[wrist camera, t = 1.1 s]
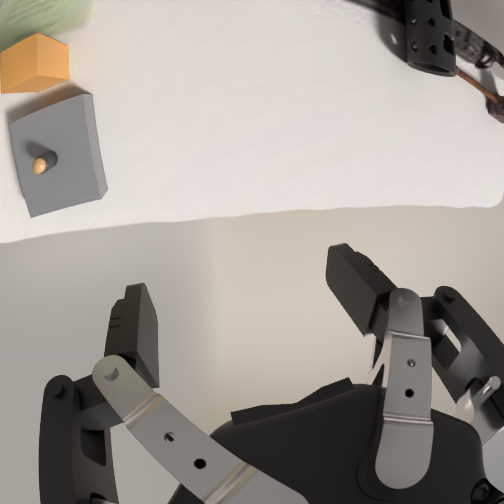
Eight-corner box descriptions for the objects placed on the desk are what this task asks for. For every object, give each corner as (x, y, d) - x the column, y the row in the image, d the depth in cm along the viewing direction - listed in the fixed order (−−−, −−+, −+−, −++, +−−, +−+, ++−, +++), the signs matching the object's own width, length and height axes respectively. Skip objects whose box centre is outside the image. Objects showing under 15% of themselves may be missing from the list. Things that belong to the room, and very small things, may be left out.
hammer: (502, 124, 44) (527, 132, 35) (422, 76, 41) (451, 75, 32) (504, 103, 41) (529, 109, 32) (423, 50, 37) (452, 46, 29)
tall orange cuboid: (36, 59, 21) (0, 52, 13) (68, 45, 22) (37, 32, 14) (37, 92, 24) (1, 93, 16) (69, 79, 25) (37, 74, 17)
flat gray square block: (22, 120, 25) (-7, 127, 18) (92, 94, 27) (71, 93, 21) (41, 207, 32) (18, 230, 26) (108, 189, 35) (93, 210, 28)
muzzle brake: (391, 61, 34) (435, 61, 25) (381, -52, 20) (416, -66, 11) (425, 75, 36) (467, 79, 27) (416, -33, 22) (451, -41, 13)
